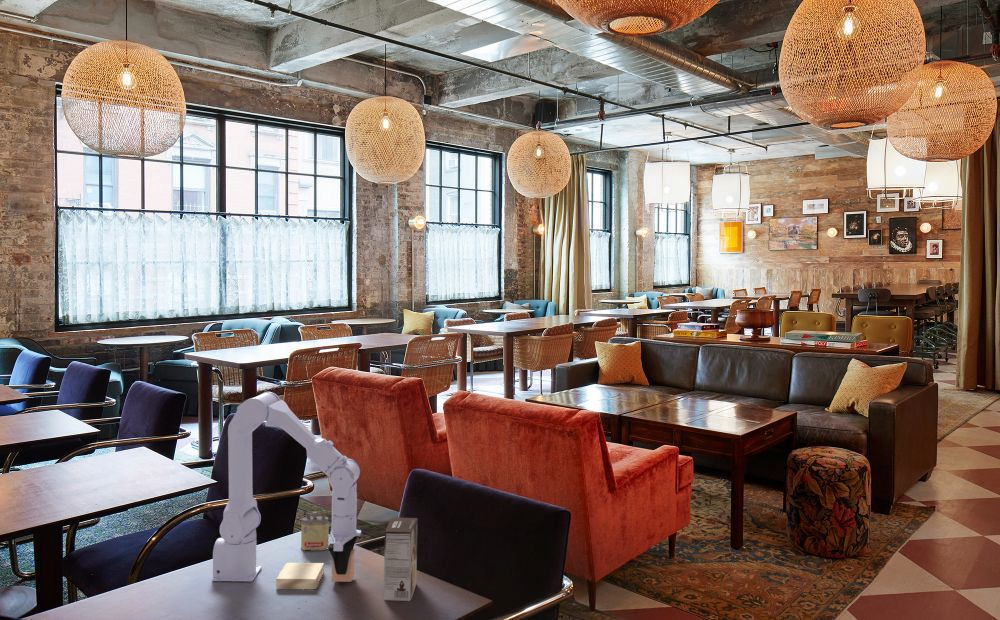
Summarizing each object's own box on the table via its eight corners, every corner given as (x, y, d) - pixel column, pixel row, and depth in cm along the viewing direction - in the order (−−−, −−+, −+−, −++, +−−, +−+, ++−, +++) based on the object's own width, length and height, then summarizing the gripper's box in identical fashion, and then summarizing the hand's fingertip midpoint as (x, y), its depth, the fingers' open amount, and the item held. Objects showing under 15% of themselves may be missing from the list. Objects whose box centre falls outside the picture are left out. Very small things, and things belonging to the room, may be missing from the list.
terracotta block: (331, 581, 172) (332, 556, 171) (335, 573, 176) (335, 548, 176) (351, 581, 172) (351, 556, 171) (354, 573, 176) (354, 549, 176)
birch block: (276, 591, 169) (276, 578, 169) (286, 574, 178) (286, 562, 178) (315, 591, 169) (315, 579, 169) (323, 575, 178) (323, 563, 178)
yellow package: (299, 551, 191) (300, 513, 190) (302, 545, 195) (302, 508, 194) (327, 550, 192) (328, 513, 191) (329, 545, 196) (329, 508, 195)
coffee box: (390, 582, 174) (391, 516, 173) (417, 583, 174) (418, 517, 173) (383, 600, 165) (384, 530, 164) (411, 601, 165) (412, 531, 164)
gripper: (356, 524, 166) (355, 583, 167) (365, 503, 180) (364, 557, 181) (324, 523, 165) (323, 582, 166) (336, 502, 180) (336, 556, 181)
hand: (343, 569), depth 174 cm, fingers closed on terracotta block, 4 cm apart
